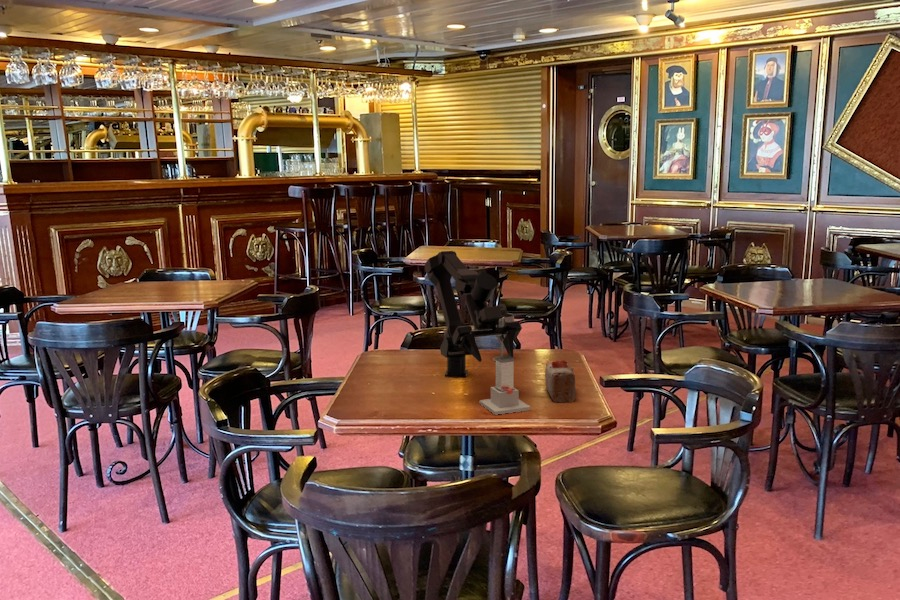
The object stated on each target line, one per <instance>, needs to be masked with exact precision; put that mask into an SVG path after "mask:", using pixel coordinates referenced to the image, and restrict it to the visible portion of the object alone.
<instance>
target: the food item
mask: <svg viewBox="0 0 900 600" xmlns="http://www.w3.org/2000/svg"><path fill="white" fill-rule="evenodd" d="M569 363H570V360H569V361H568V362H567V361H566V360H553V361H547V362H546V363H545V364H546V365H545V370H544V378H545V379H544V381H545V389H546V390H547V393H548V394H549V395H550V398H551V400H553V402H555V403H567V402H568V403H572V402H574V401H575V398H576V375H575V374H574V370H575V369H574V367H573V366H569Z"/></svg>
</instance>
